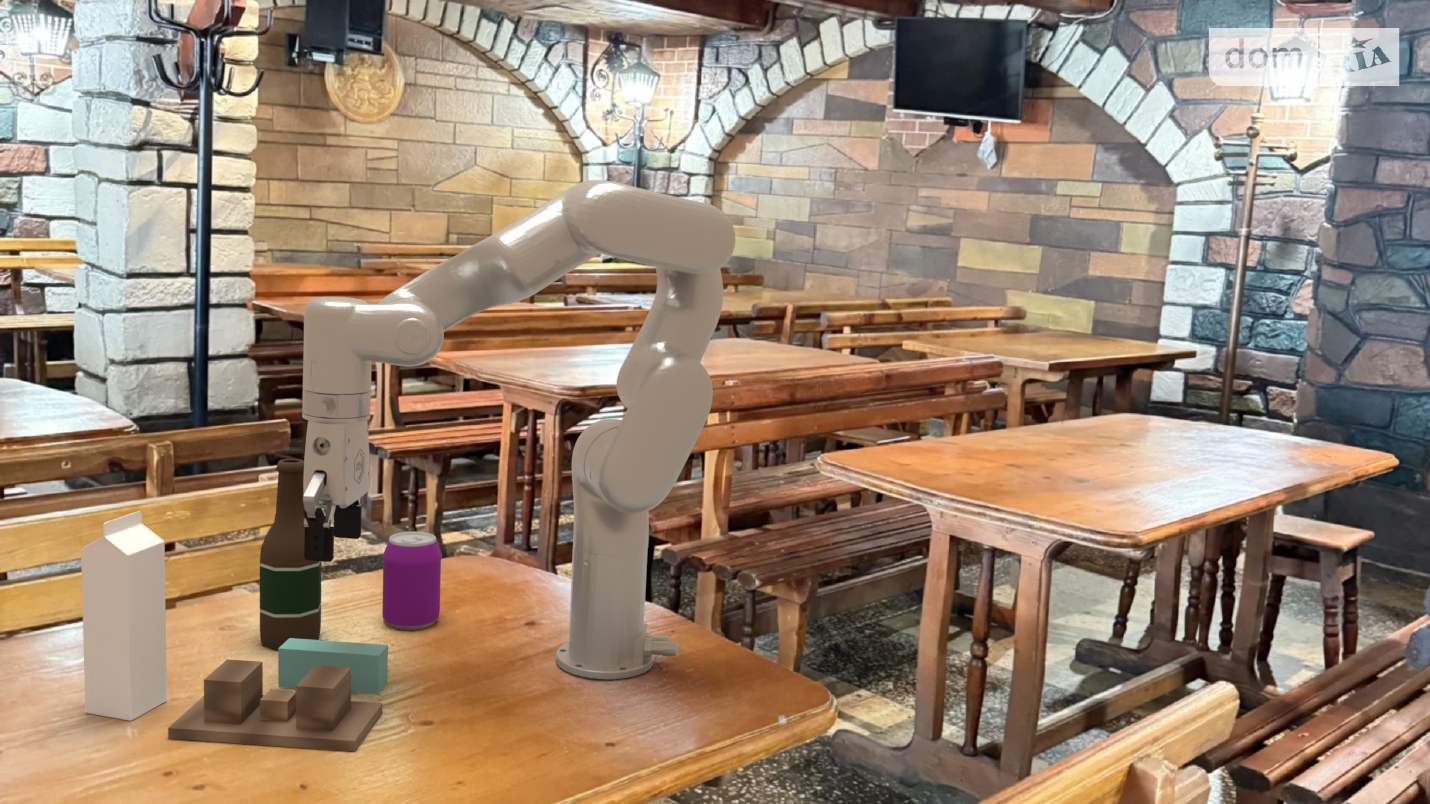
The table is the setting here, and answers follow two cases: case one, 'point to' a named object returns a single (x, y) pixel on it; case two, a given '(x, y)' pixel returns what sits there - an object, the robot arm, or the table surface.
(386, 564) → the beverage can
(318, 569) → the beer bottle
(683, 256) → the robot arm
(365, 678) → the teal bar
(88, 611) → the milk
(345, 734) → the ledge stand
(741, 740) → the table surface
